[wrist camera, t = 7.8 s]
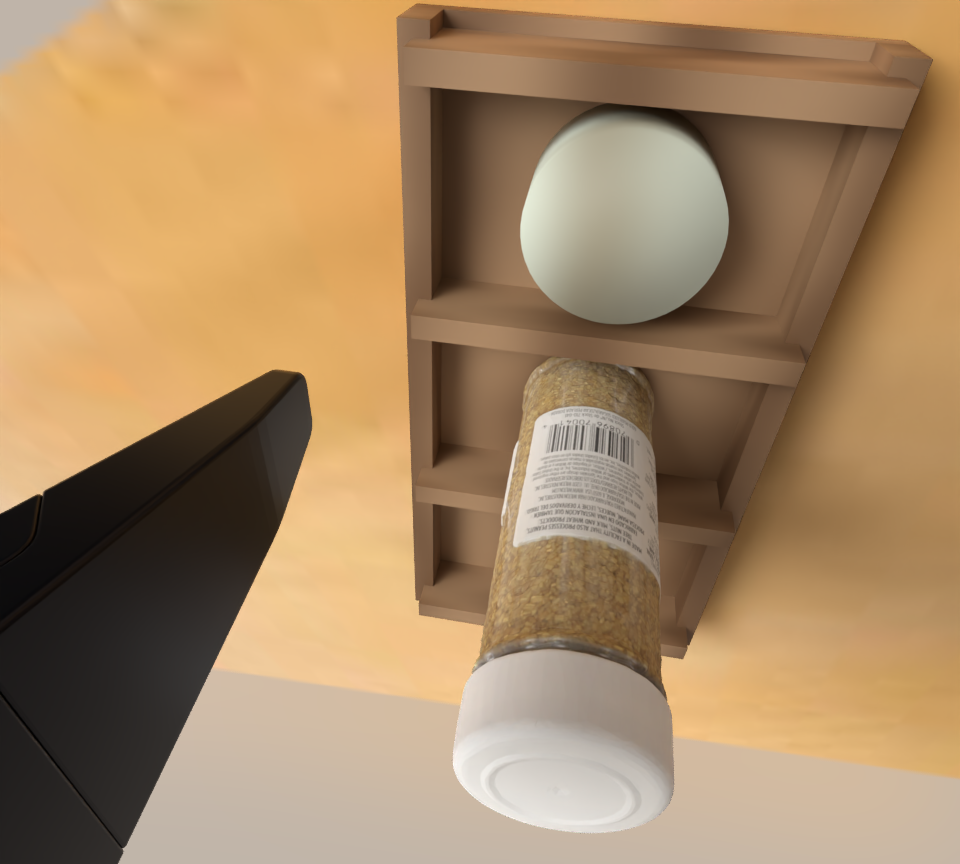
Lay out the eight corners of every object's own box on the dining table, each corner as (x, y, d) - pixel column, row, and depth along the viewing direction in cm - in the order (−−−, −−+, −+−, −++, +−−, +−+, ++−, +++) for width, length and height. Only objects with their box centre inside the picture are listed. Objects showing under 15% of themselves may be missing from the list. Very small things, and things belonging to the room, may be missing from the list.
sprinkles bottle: (504, 418, 25) (419, 797, 15) (558, 321, 22) (495, 709, 12) (617, 464, 26) (607, 861, 16) (683, 374, 23) (724, 792, 13)
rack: (905, 40, 17) (949, 70, 14) (686, 606, 31) (690, 666, 29) (416, 3, 18) (385, 25, 16) (425, 565, 32) (410, 618, 30)
